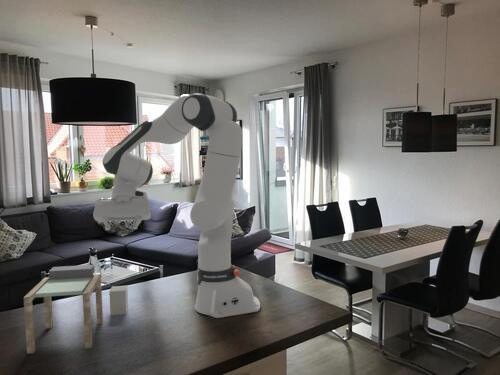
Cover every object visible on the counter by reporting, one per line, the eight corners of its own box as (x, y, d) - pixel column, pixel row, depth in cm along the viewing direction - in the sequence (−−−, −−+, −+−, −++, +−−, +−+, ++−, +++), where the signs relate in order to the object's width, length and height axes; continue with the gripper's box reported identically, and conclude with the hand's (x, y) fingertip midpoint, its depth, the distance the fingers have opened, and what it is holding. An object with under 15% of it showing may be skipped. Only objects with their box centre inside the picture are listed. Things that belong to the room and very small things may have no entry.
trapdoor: (94, 276, 125) (94, 264, 125) (82, 294, 109) (81, 281, 109) (53, 278, 123) (53, 267, 123) (35, 297, 107) (34, 284, 107)
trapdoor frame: (102, 322, 125) (100, 274, 124) (91, 348, 109) (88, 293, 107) (47, 326, 123) (44, 277, 121) (27, 353, 106) (23, 297, 105)
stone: (128, 308, 136) (127, 285, 135) (126, 314, 131) (125, 290, 131) (113, 309, 135) (112, 286, 135) (110, 315, 130) (109, 291, 130)
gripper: (93, 193, 147) (89, 224, 139) (150, 192, 151) (149, 222, 142) (96, 204, 152) (92, 234, 143) (151, 202, 156) (150, 232, 147)
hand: (121, 228), depth 143 cm, fingers open, 8 cm apart
